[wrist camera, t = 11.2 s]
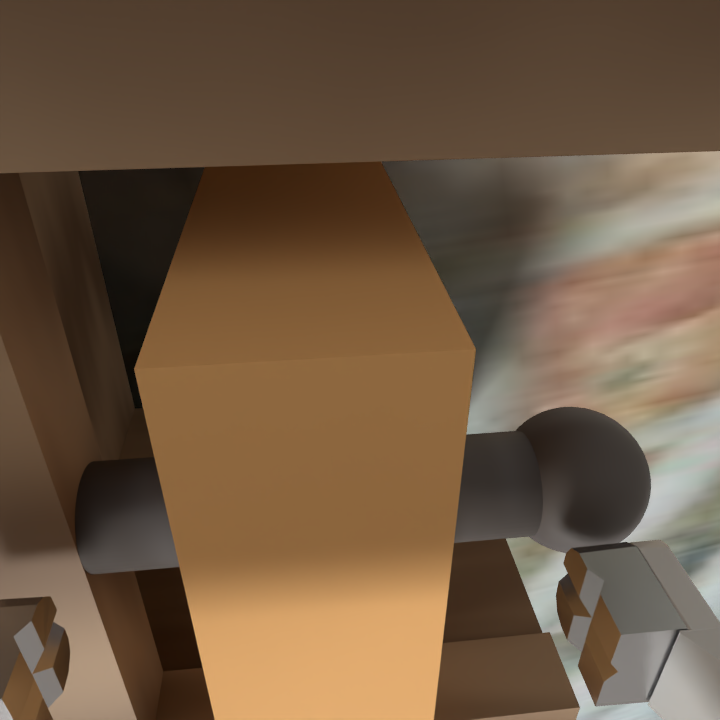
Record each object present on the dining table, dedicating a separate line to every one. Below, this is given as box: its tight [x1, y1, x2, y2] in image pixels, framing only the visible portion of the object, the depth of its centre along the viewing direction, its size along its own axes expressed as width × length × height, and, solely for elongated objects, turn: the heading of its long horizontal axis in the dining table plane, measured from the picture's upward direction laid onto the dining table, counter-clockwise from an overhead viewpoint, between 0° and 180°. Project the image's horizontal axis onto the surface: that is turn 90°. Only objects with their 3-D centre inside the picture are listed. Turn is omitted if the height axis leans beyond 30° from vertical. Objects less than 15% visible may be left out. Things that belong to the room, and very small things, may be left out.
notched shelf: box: [0, 0, 720, 720], centre depth 17 cm, size 20×15×14 cm
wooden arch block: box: [134, 161, 476, 720], centre depth 14 cm, size 10×4×10 cm, turn 0°
